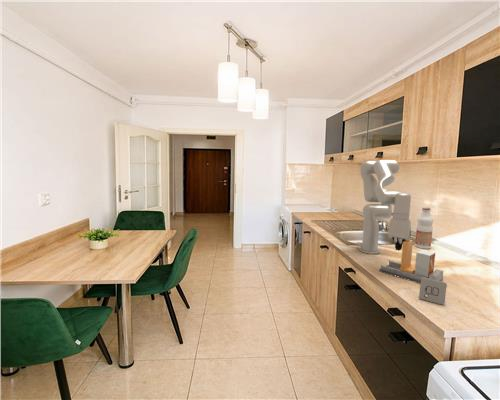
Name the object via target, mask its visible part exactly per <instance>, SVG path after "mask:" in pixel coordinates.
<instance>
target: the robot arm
mask: <svg viewBox="0 0 500 400" xmlns="http://www.w3.org/2000/svg"><path fill="white" fill-rule="evenodd" d="M359 171H360V176H361V178H362V183H363V195H364V196H363V197H364V200H365V202H367V203H370V204H365V205H364V206H363V207H362V216H363V217H362V218H363V228H362V229H363V230H362V241H361V242H359V241H357V243H356V246H357V247H359V248H358V249H359V251H360V252H361V253H364V254H371V255H377V254H380V253H381V250H380V249H379V235H380V234H379V233H380V224H379V222H378V221H377V220H378V219H382V220H387V219H390V221H389V224H388V225H389V226H388V233H387V236H388V238H389V239H392V240H393V241H394V243H395V244H394V248H395V251H397V252H399V251H402V248H403V242H404V241H410V240H411V236H412V225H411V224H412V223H411V219H410V213H411V211H410V210H411V201H412V200H411V199H412V196H411V194H410V193H407V192H404V191H399V190H397V191H396V190H395V191H393V190H389V189H388V188H385V187H387V186H390V185H391V184H392V183H393V182H394V181H395V178H396V177H395V176H394V174H398V172H399V171H400V164H399V162H398V161H397V160H395V159H378V160H366V161H363V162H362V163H361V165H360V169H359ZM374 174H375V175H376V177H375V176H374ZM392 206H393V208H392Z"/></svg>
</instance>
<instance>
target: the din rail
mask: <svg viewBox="0 0 500 400" xmlns="http://www.w3.org/2000/svg"><path fill="white" fill-rule="evenodd" d="M400 268H401V262H396V261H393V260H389V261H388V264H387V265H383V264H381V265H380V268H379V272H380V271H382V272H381V273H384V272H385V274H387V273H388V274H387V275H390V274H392V275H391V276H394V275H396V276H395V277H397V276H399V277H398V278H401V277H402V278H401V279H404V278H405V280H407V279H409V280H408V281H411V280H412V281H411V282H414V281H415V282H414V283H418V282H419V283H418V284H421V278H427V277H423V276H419V275H416V274H412V273H409V272H405V271H401V270H400ZM428 279H432V280H437V281H441V282H443V280H444V270H442V269H438V268H436V269H435V270H433V272H432V273H431V274H429V278H428Z"/></svg>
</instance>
